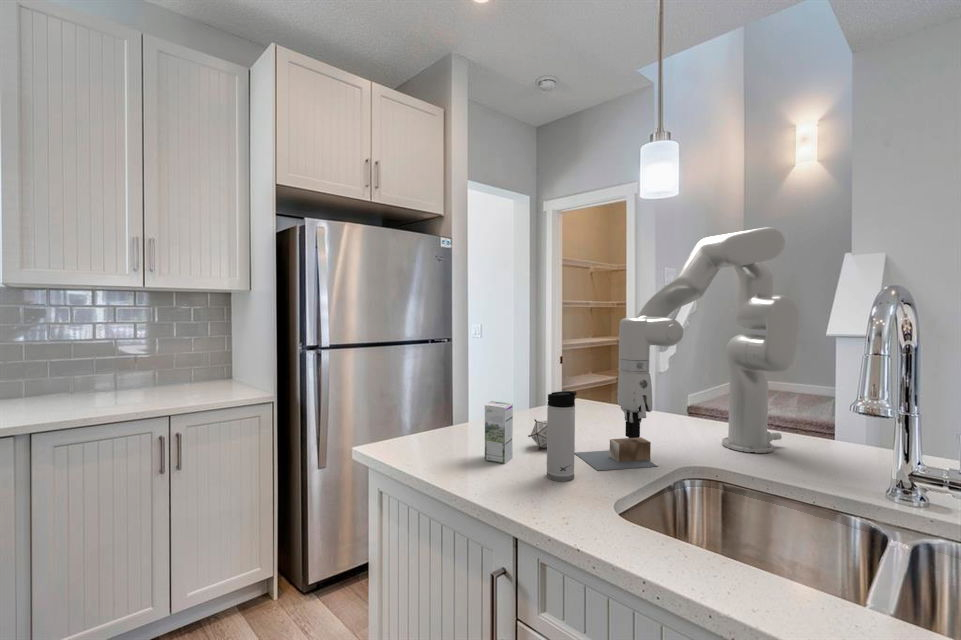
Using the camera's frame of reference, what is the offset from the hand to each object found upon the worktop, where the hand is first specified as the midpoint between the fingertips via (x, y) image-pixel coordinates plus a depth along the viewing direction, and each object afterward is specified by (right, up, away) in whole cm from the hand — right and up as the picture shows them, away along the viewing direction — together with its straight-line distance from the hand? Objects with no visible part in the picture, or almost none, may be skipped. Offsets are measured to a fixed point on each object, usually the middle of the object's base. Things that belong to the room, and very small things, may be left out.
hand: (632, 436), depth 126 cm
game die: (-21, -6, +9) cm, 24 cm away
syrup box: (-35, -6, -1) cm, 35 cm away
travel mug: (-21, -6, -13) cm, 25 cm away
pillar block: (+4, -3, +1) cm, 5 cm away
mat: (-5, -6, -1) cm, 8 cm away
